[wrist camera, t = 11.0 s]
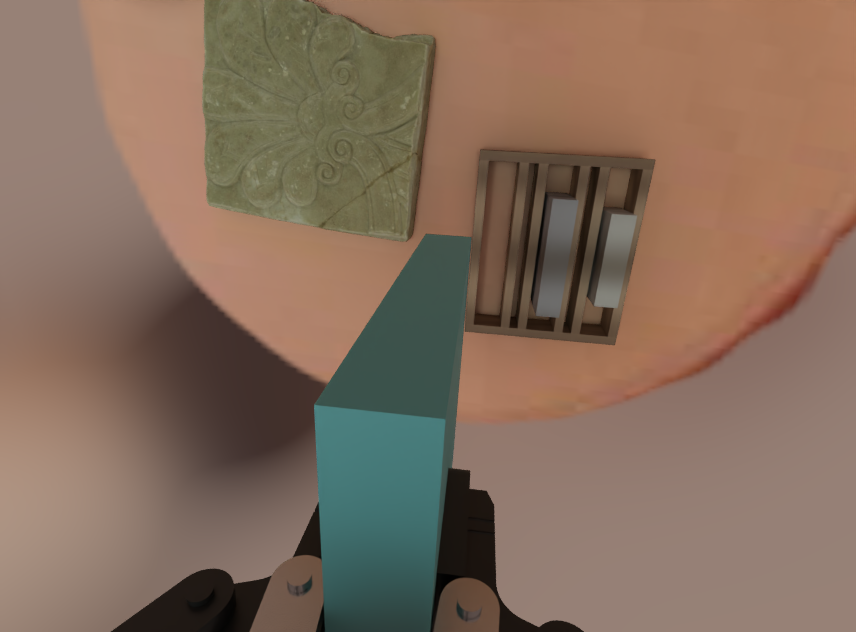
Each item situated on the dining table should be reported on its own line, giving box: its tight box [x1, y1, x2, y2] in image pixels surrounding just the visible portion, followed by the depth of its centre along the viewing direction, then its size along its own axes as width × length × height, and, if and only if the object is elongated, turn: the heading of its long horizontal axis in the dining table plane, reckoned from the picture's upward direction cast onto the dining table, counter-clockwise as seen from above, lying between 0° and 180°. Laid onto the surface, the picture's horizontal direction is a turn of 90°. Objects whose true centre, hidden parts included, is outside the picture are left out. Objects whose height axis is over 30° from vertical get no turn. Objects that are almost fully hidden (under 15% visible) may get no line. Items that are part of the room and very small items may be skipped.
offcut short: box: [587, 207, 637, 308], centre depth 40 cm, size 8×2×5 cm, turn 177°
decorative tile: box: [203, 0, 436, 241], centre depth 40 cm, size 19×20×4 cm
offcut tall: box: [530, 192, 579, 318], centre depth 40 cm, size 10×2×6 cm, turn 177°
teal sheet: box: [314, 234, 472, 632], centre depth 15 cm, size 12×2×14 cm, turn 177°
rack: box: [465, 150, 655, 345], centre depth 42 cm, size 17×14×3 cm
